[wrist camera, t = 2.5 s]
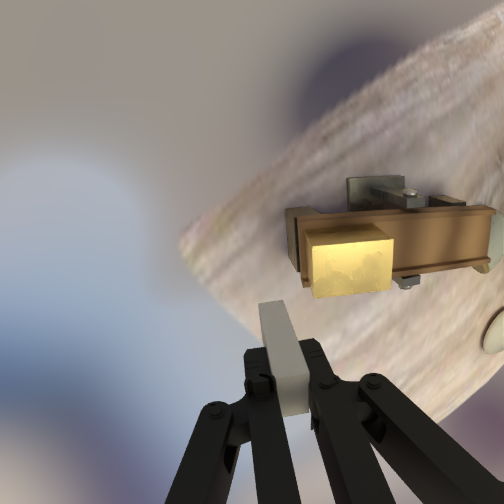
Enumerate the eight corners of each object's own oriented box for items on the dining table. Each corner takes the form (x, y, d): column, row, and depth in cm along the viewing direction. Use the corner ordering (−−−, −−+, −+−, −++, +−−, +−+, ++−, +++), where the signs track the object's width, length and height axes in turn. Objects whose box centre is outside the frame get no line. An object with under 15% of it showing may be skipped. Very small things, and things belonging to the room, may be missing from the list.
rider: (374, 224, 27) (393, 239, 22) (373, 267, 28) (390, 289, 24) (304, 229, 27) (311, 246, 23) (306, 274, 29) (313, 298, 24)
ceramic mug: (449, 238, 37) (482, 255, 30) (476, 201, 36) (510, 213, 28) (470, 277, 40) (498, 296, 33) (495, 243, 39) (523, 258, 31)
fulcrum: (444, 174, 34) (488, 184, 25) (440, 254, 38) (479, 277, 29) (282, 183, 33) (300, 194, 25) (290, 279, 37) (307, 316, 28)
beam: (484, 205, 27) (496, 209, 24) (479, 256, 29) (490, 263, 27) (296, 216, 29) (299, 221, 26) (300, 277, 31) (303, 287, 29)
